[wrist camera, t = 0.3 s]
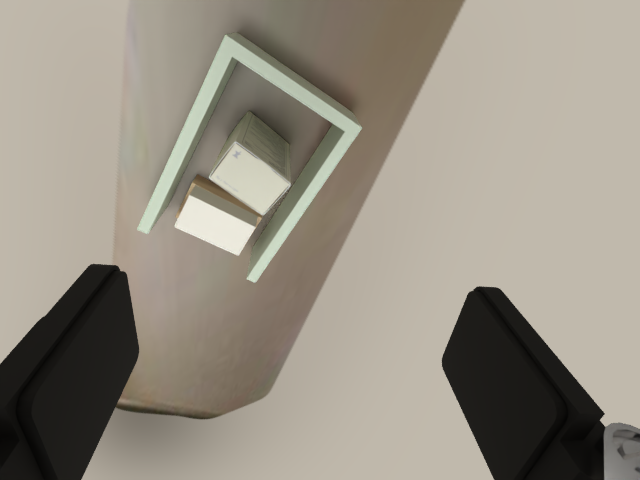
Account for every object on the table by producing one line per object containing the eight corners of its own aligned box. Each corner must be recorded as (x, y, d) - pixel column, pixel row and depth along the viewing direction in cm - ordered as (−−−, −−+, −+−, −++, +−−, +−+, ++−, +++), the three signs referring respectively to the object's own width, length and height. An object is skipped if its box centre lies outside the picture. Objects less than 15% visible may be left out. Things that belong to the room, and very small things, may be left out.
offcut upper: (195, 184, 41) (189, 194, 39) (257, 216, 44) (255, 227, 42) (180, 215, 43) (173, 226, 41) (241, 243, 46) (238, 255, 44)
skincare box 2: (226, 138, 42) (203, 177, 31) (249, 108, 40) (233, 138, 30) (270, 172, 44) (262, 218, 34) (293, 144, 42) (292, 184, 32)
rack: (237, 32, 36) (225, 34, 30) (352, 112, 41) (362, 127, 35) (158, 202, 45) (137, 229, 39) (260, 251, 50) (255, 282, 44)
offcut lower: (198, 173, 44) (192, 182, 41) (263, 207, 47) (261, 218, 44) (181, 206, 46) (175, 217, 43) (245, 237, 49) (242, 248, 46)
